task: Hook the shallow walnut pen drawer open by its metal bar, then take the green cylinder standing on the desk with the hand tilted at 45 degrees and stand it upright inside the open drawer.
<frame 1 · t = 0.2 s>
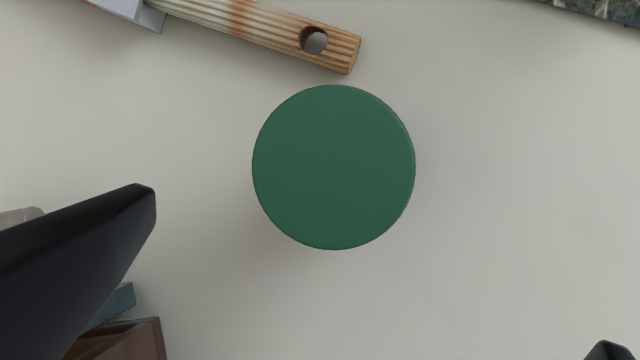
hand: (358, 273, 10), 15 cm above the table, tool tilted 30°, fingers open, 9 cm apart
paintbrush: (177, 0, 26), on the table
green cylinder: (372, 160, 24), on the table
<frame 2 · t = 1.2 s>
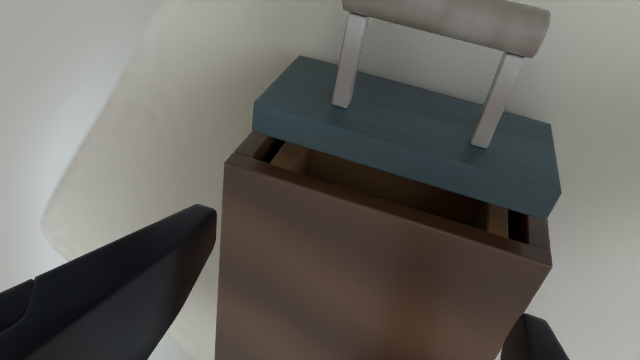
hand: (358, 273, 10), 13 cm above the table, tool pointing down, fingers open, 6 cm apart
drawer: (386, 196, 21), point 3 cm above the table, slide at 1.0 cm
cabinet: (375, 235, 26), on the table
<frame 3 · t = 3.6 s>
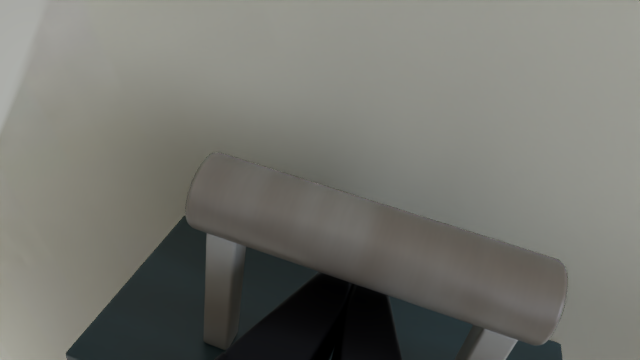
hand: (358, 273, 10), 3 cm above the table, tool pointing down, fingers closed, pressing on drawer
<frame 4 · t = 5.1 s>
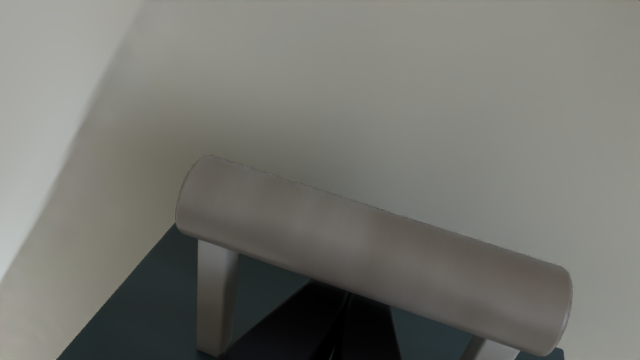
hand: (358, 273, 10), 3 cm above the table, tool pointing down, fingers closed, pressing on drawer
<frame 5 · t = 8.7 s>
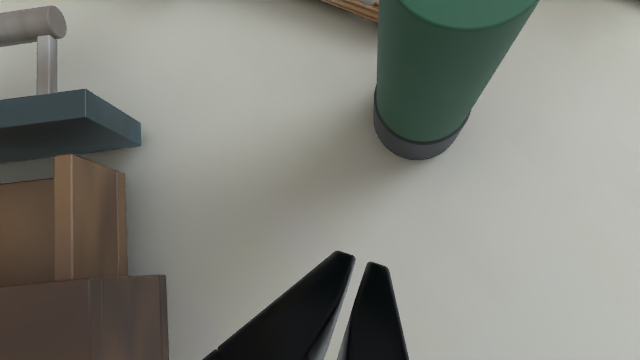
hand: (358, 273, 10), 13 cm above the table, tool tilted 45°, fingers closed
drawer: (4, 207, 22), point 3 cm above the table, slide at 6.2 cm
green cylinder: (416, 118, 24), on the table
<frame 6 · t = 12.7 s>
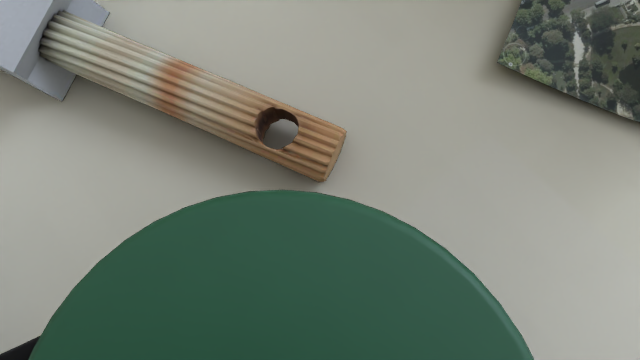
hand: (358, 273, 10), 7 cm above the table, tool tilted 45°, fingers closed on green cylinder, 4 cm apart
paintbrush: (95, 61, 19), on the table
green cylinder: (349, 313, 16), on the table, touching gripper
when the fingers open (9 cm above the table, at t = 19.5 s): green cylinder stays where it is, resting on drawer.
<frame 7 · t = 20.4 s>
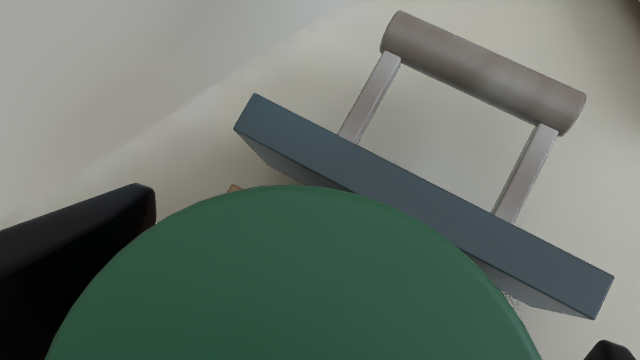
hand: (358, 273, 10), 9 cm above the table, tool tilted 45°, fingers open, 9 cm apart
drawer: (354, 305, 15), point 3 cm above the table, slide at 6.3 cm, touching green cylinder
green cylinder: (350, 311, 16), point 2 cm above the table, touching drawer
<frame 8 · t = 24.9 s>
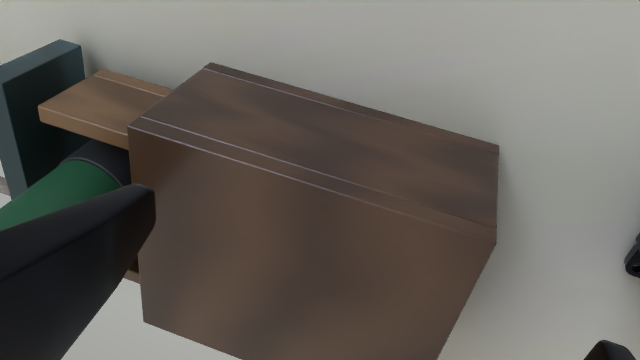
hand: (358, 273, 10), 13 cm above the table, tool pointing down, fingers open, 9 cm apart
drawer: (109, 174, 25), point 3 cm above the table, slide at 6.3 cm, touching green cylinder
cabinet: (327, 200, 26), on the table
green cylinder: (130, 162, 26), point 2 cm above the table, touching drawer
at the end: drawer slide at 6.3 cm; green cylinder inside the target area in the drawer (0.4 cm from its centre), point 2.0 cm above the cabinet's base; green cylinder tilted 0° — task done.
